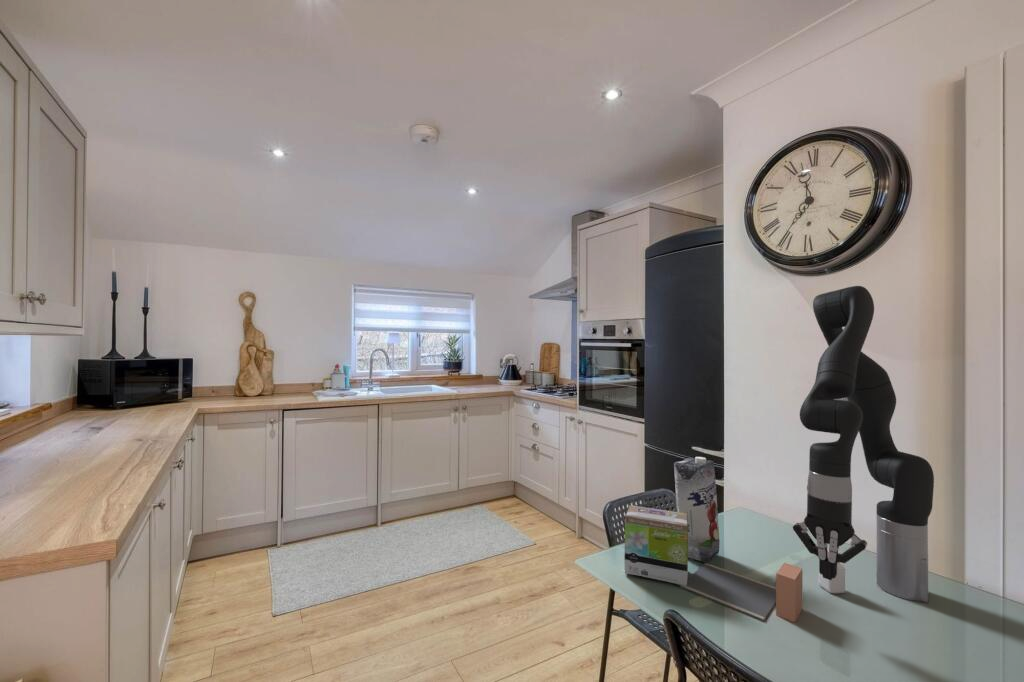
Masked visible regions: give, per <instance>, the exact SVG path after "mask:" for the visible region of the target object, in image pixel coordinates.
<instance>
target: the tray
mask: <svg viewBox="0 0 1024 682" xmlns="http://www.w3.org/2000/svg"><path fill="white" fill-rule="evenodd" d="M703 563H704V564H703V565H701V567H699V568H698V569H697V570H696V571H695V572H693V574H691V575H690V576H689V577H687V585H686V586H683V585H679V588H681V589H683V590H686V591H688V592H690V593H693V594H696V595H698V596H700V597H703V598H705V599H708V600H710V601H712V602H715V603H717V604H720V605H722V606H725V607H727V608H730V609H732V610H734V611H736V612H740V613H742V614H744V615H747V616H749V617H752V618H754V619H757V620H759V621H761V622H765V620H766V618H767V617H768V616H769V614H770V613H771V611H772V609H773V608H774V606H776V586H773V585H770V584H767V583H764V582H762V581H758V580H755V579H753V578H751V577H747V576H746V575H745V576H744V575H741V574H739V573H735V572H734V571H733V572H732V571H730V570H727V569H725V568H721V567H718V566H716V565H713V564H710V563H708V562H703Z"/></svg>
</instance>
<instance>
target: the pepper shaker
mask: <svg viewBox="0 0 1024 682" xmlns="http://www.w3.org/2000/svg"><path fill="white" fill-rule="evenodd" d="M827 550H828V557H829V546H827ZM838 554H841V552H840V550H838ZM818 585H819V587H821V588H822V589H823V590H825V591H827V592H828V593H830V594H844V593H846V568H845V567H844V566H843V565H842V564H841V562H838V563H837V575H836V577H835V578H833V579H832V580H829V579H826V578H823V575H822V574H820V572H819V571H818Z"/></svg>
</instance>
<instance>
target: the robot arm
mask: <svg viewBox="0 0 1024 682" xmlns="http://www.w3.org/2000/svg"><path fill="white" fill-rule="evenodd" d="M812 307H813V313H814V316H815V317H814V318H815V319H816V322H817V324H818V326H819V329H820V331H821V333H822V335H823V337H824V339H825V341H826V343H827V346H828V347H826V349H825V350H824V351H823V352H822V355H821V356H820V357H819V358H820V359H819V360H818V363H817V370H816V376H815V379H814V380H815V381H814V384H813V386H812V388H811V389H810V392H809V393H808V395H807V396H806V397H805V398H804V401H803V402H802V404H801V406H800V410H799V420H800V422H801V425H802V426H803V427H804V428H806V429H807V430H809V431H813V432H821V433H829V434H835V435H836V434H838V435H839V438H838V439H837V440H835V441H831V442H814V443H812V444H811V445H810V447H809V456H808V457H809V458H808V459H809V464H808V469H809V470H808V477H807V485H806V491H807V496H806V497H807V499H806V500H807V501H806V516H805V517H804V519H803V521H802V522H796V523H795V524H794V525H793V526H792V530H793V531H794V532H795V534H796V536H797V537H798V539H799V540H800V541H801V542H802V543H803V545H804V547H805V549H807V551H808V552H809V553H810V554H812V555H815V556H816V557H818V559H819V560H818V573H819V572H820V574H822V575H823V578H826V579H829V580H832V579H833V578H835V577H836V575H837V563H838V562H840V563H842V564H846V563H848V562H849V561H850V560H852V559H853V558H854V557H855V556H858V555H859V554H860V553H862V552H863V551H864V550H865V549H866V548H867V545H868V542H867V541H866V540H865V539H861V538H860V537H859V536H857V534H855V533H856V532H855V529H854V527H853V524H852V523H853V522H852V521H853V520H852V518H853V517H852V516H853V512H852V511H853V485H852V479H851V475H852V474H851V471H852V467H851V466H852V453H853V449H854V444H855V441H856V438H857V435H858V434H859V436H860V440H861V446H862V451H863V454H864V458H865V463H866V467H867V470H868V473H869V474H870V476H871V478H872V479H873V480H875V481H876V482H877V483H878V484H880V485H883V486H884V487H885V486H886V487H887V488H891V489H893V494H892V500H881V501H879V502H877V503H876V575H875V576H876V584H877V586H878V587H879V588H880V589H881V590H883V591H884V592H886V593H889V594H890V595H893V596H895V597H898V598H901V599H905V600H911V601H917V602H918V601H919V602H923V603H927V604H929V536H928V535H929V534H928V532H929V531H928V530H929V529H928V527H929V526H928V524H929V517H930V515H931V513H932V509H933V505H934V504H933V499H934V489H935V488H934V487H935V478H934V477H935V475H934V470H933V467H932V465H931V464H930V463H929V461H928V460H926V459H925V458H924V457H921V456H919V455H915V454H911V453H908V452H903V451H899V450H898V448H897V446H896V445H895V443H894V439H893V437H892V432H891V426H890V425H891V422H892V419H893V416H894V414H895V410H896V406H897V396H896V393H895V390H894V386H893V384H892V382H891V378H890V376H889V374H888V372H887V370H886V369H884V368H883V367H882V366H881V365H880V364H879V363H878V362H876V361H875V360H874V359H872V358H871V357H870V356H868V355H867V354H866V353H864V352H863V351H862V350H863V346H864V344H865V341H866V338H867V336H868V333H869V331H870V327H871V325H872V322H873V318H874V313H875V303H874V298H873V297H872V295H871V293H870V291H869V290H868V289H867V288H866V287H864V286H862V285H853V286H848V287H845V288H841V289H837V290H832V291H828V292H824V293H821V294H817V295H816V296H815V297H814V299H813V300H812ZM845 398H846V399H847V400H845ZM842 399H843V400H842ZM808 532H810V534H811V535H812V536H813V538H814V539H815V540H816V543H815V542H814V540H813V539H812V537H811V536H810V535H809V533H808ZM850 539H851V542H850V546H851V547H849V548H848V549H846V550H845V551H844V552H842V553H840V554H838V550H839V549H840V546H843V545H844V544H846V542H848V541H849V540H850ZM828 545H829V546H828ZM827 547H829V557H828V550H827ZM839 551H840V550H839Z"/></svg>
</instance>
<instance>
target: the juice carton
mask: <svg viewBox="0 0 1024 682" xmlns="http://www.w3.org/2000/svg"><path fill="white" fill-rule="evenodd" d="M673 468H674V485H675V504H676V506H675V507H676V512H680V513H687V521H688V559H692V560H696V561H699V562H703V563H708V562H709V561H710V560H711V559H712V558H713V557H716V556H717V555H718V554H719V552H720V544H721V543H720V542H721V541H720V530H719V528H720V527H719V513H718V512H719V511H718V497H717V485H716V483H717V482H716V472H715V471H716V470H715V461H714V460H709V459H708V460H707V458H706V457H704V456H695V458H693V457H692V458H691V457H687V458H685V459H684V460H681V461H674V463H673Z"/></svg>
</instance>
